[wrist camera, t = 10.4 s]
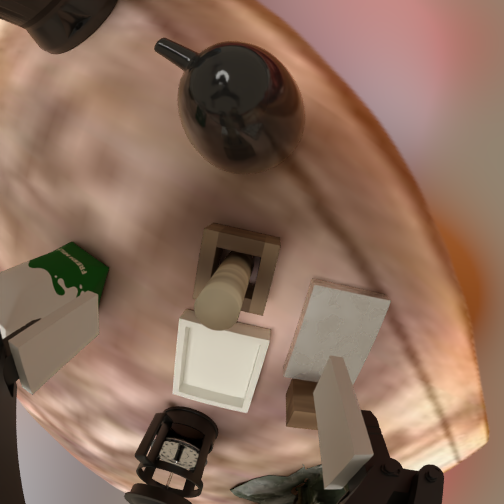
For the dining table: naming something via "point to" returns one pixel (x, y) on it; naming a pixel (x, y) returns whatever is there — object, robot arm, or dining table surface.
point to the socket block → (244, 243)
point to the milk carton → (47, 285)
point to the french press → (172, 457)
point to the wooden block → (301, 405)
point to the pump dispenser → (237, 105)
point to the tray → (218, 362)
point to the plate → (334, 329)
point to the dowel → (225, 292)
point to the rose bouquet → (279, 489)
